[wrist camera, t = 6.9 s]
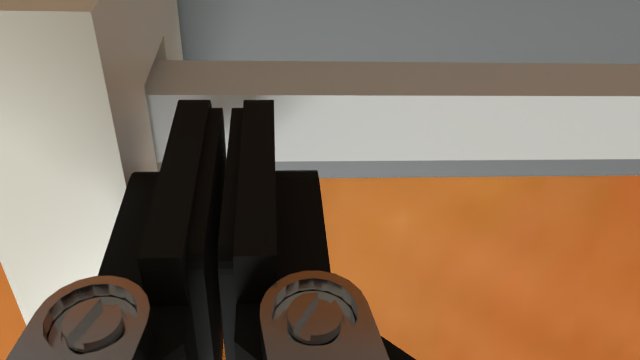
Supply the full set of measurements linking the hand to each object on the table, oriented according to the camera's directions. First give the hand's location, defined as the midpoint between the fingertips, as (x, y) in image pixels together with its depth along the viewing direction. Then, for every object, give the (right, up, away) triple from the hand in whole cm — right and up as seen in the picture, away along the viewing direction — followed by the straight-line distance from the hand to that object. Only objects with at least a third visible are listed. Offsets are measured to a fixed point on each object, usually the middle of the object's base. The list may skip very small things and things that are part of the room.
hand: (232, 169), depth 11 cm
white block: (-3, +3, +4) cm, 6 cm away
